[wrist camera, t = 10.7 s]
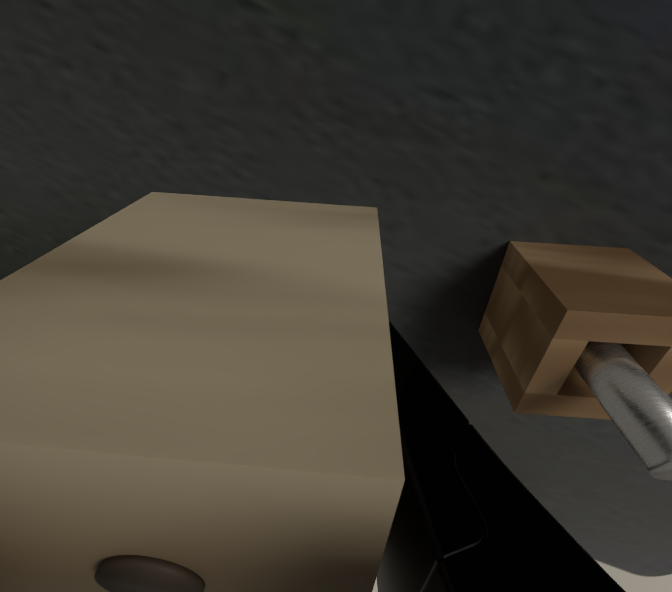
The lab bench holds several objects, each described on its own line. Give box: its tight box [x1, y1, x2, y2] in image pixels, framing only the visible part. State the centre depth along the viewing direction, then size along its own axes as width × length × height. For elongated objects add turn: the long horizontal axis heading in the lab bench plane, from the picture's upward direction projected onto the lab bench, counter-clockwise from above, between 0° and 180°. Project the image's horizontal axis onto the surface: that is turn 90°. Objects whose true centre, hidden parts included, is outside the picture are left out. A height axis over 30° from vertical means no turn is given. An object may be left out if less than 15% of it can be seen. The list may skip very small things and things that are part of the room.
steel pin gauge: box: [574, 341, 672, 480], centre depth 15 cm, size 2×2×10 cm
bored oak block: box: [478, 241, 672, 420], centre depth 17 cm, size 6×6×6 cm
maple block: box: [0, 192, 405, 592], centre depth 6 cm, size 5×5×6 cm
